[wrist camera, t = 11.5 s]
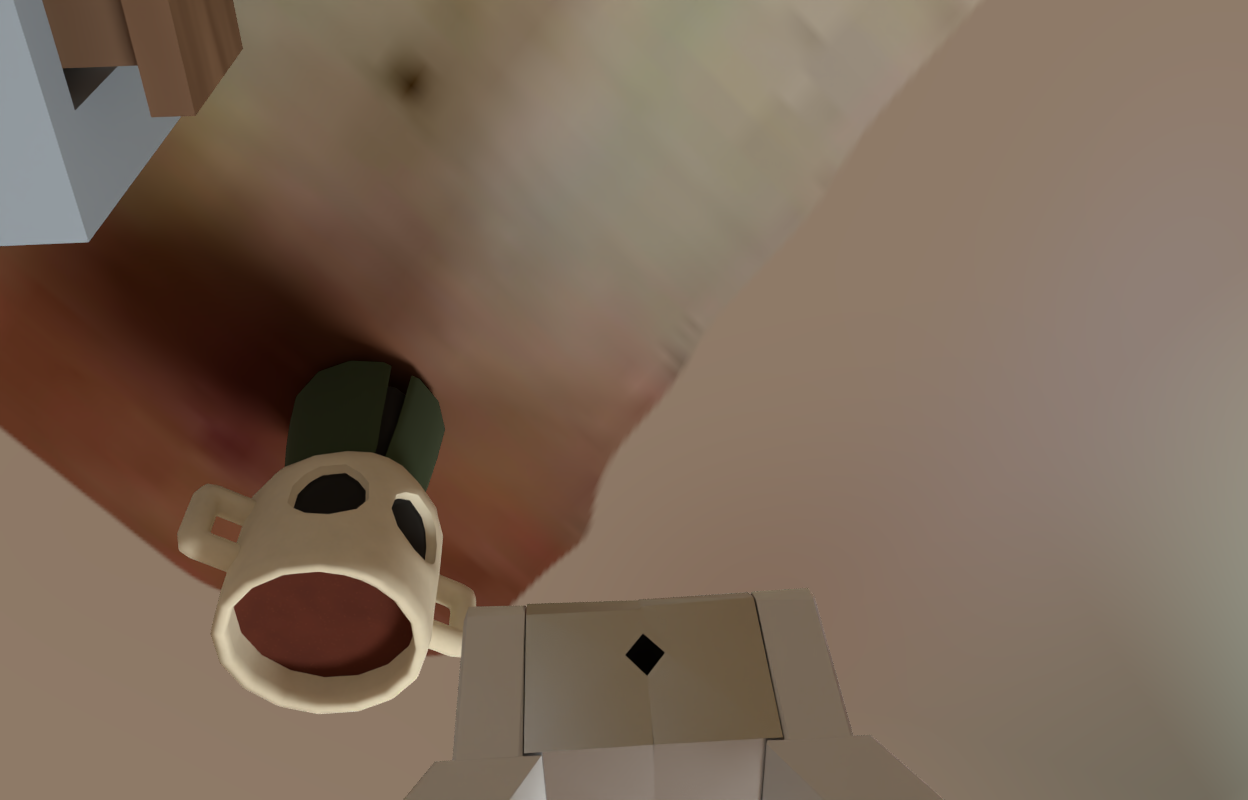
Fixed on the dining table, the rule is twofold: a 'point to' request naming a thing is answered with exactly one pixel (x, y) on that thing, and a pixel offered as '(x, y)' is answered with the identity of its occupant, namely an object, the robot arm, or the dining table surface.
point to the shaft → (151, 44)
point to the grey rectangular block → (64, 134)
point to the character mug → (335, 550)
